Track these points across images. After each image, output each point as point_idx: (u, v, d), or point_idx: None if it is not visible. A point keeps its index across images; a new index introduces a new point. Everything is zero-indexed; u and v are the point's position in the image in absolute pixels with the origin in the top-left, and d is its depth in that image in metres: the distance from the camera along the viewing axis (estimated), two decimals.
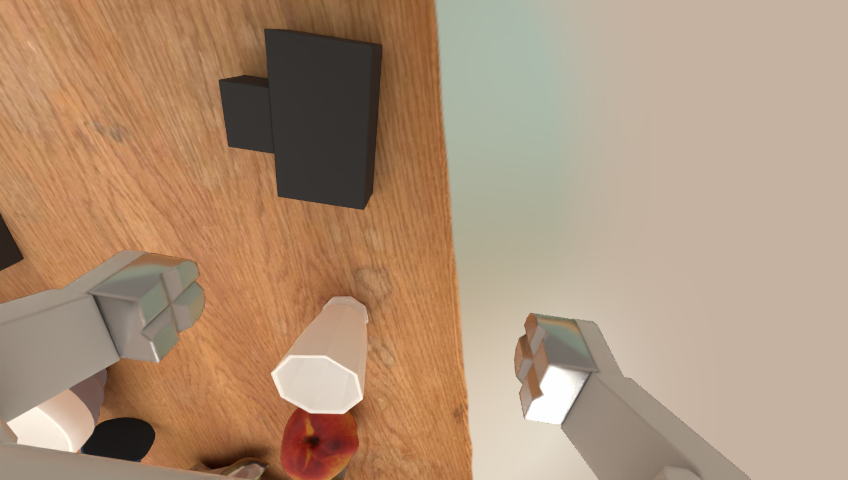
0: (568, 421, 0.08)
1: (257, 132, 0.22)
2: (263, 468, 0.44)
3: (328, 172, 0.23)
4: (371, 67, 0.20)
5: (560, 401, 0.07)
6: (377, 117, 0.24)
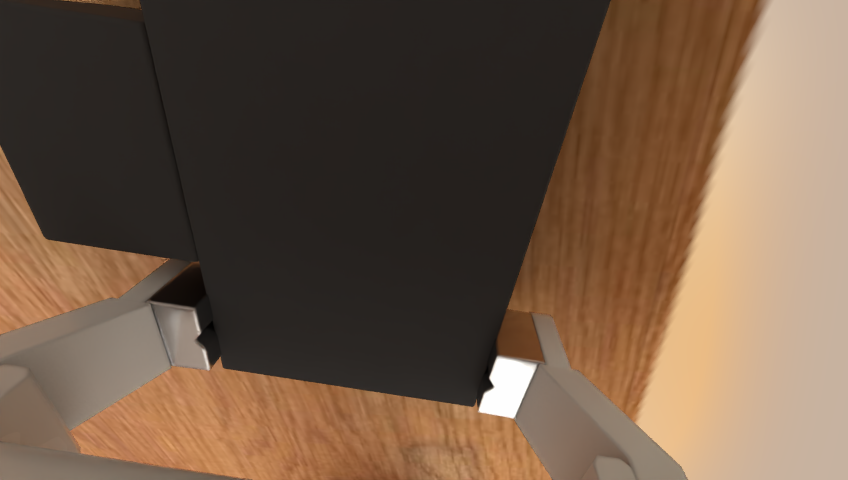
0: (521, 414, 0.08)
1: (130, 198, 0.06)
2: None
3: (379, 319, 0.07)
4: None
5: (511, 393, 0.07)
6: None
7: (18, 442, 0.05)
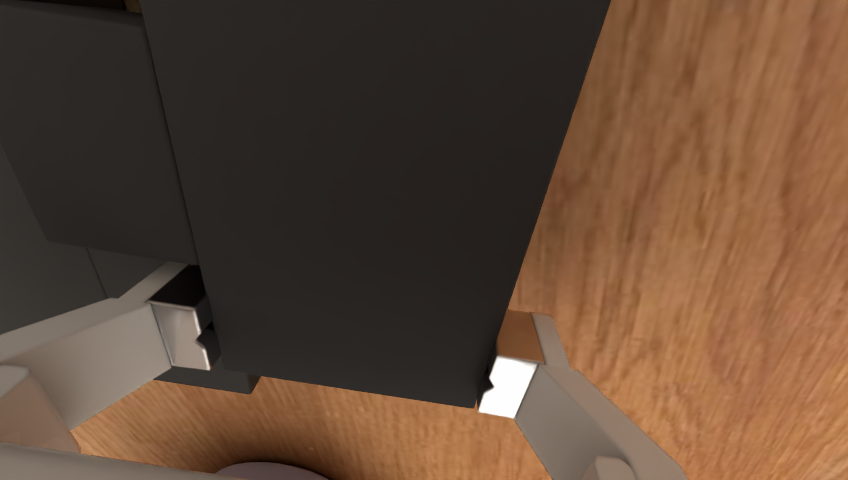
0: (521, 414, 0.08)
1: (131, 202, 0.06)
2: None
3: (379, 321, 0.07)
4: None
5: (511, 393, 0.07)
6: None
7: (18, 442, 0.05)
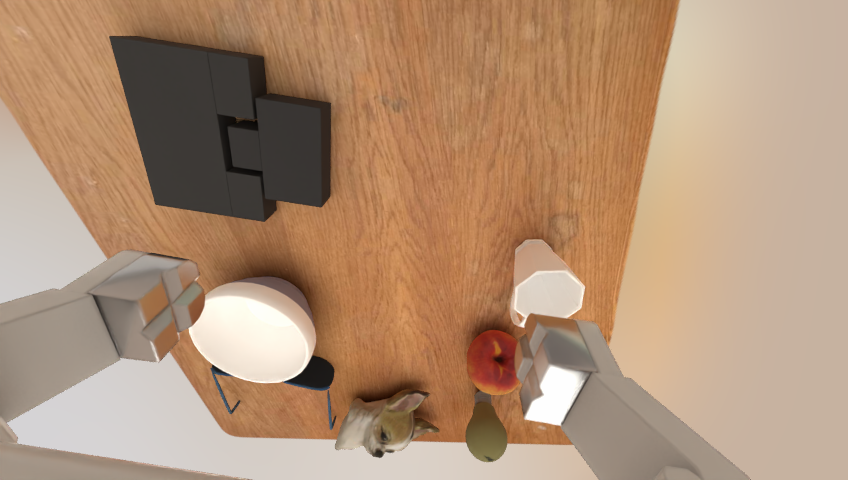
0: (568, 421, 0.08)
1: (251, 158, 0.35)
2: (425, 396, 0.52)
3: (297, 183, 0.36)
4: (320, 120, 0.32)
5: (560, 401, 0.07)
6: None
7: None
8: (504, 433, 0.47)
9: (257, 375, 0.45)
